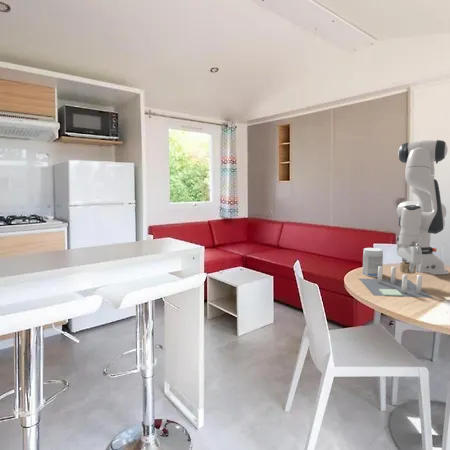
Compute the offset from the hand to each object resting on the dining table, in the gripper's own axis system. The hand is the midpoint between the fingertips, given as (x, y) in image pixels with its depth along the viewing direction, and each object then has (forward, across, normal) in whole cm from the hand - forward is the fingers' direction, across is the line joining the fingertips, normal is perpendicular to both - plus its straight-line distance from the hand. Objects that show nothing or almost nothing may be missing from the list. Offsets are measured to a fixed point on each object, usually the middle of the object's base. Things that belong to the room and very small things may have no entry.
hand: (407, 269), depth 159 cm
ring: (+1, 0, 0) cm, 1 cm away
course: (+9, -4, +8) cm, 13 cm away
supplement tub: (+9, +18, +11) cm, 23 cm away
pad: (+8, -13, +12) cm, 19 cm away
